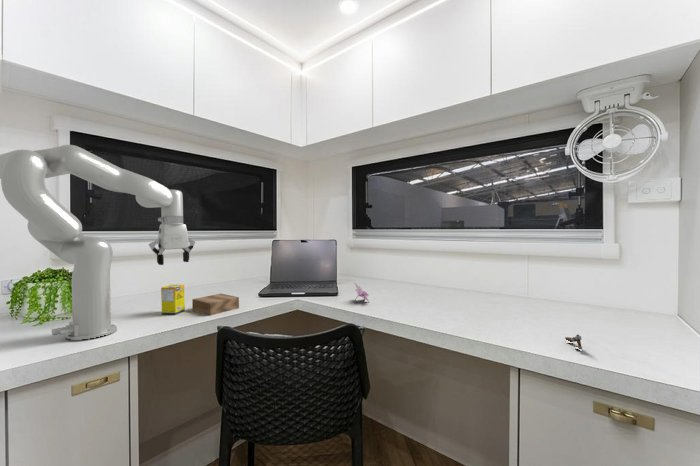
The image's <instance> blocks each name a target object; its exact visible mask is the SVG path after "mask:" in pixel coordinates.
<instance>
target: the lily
mask: <svg viewBox="0 0 700 466" xmlns="http://www.w3.org/2000/svg"><path fill="white" fill-rule="evenodd" d="M352 283H353V284H354V286H356V289H355V290H354V291H355V292H356V293H357V296H356V298H355V299H354V300H353V303H355V302H356V300H357V298H358V297H362V299H363V300H367V301H368V303H371V302H370V301H369V299H368V297H370V294H369V293H368V292H367V291H365V290H363V289H362V287H361V286H360V285H358V284H357V283H356V282H354V281H352Z"/></svg>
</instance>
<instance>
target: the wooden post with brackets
mask: <svg viewBox="0 0 700 466" xmlns="http://www.w3.org/2000/svg"><path fill="white" fill-rule="evenodd" d="M565 339H566V340H568V341H570V342H573V343H575V342H576V344H577V345H575V346H576V347H578V348H579V349H582V350H583V346H582V343H581V341H582V340H583V339H582V336H581V335H580V334H576V335H575V336H573V337H566V336H565V337H564V340H565Z"/></svg>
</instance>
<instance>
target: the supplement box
mask: <svg viewBox="0 0 700 466" xmlns="http://www.w3.org/2000/svg"><path fill="white" fill-rule="evenodd" d="M160 290H161V291H160V293H161V299H160V300H161V315H175V316H176V315H178V314H180V313H182V312H185V311H186V309H185V308H186V307H185V305H186V303H185V285H184V284H169V285H165V286H161V289H160Z"/></svg>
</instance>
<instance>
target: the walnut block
mask: <svg viewBox="0 0 700 466" xmlns="http://www.w3.org/2000/svg"><path fill="white" fill-rule="evenodd" d="M239 299H240V297H239V296H234V295H230V294H225V293H217V294H212V295H206V296H201V297H196V298H192V299H191V300H192V302H191V303H192V311H194V312H197V313H201V314H205V315H207V316H215V315H218V314H221V313H225V312H228V311H229V312H230V311H232V310H233V311H234V310H237V309H239V308H240V300H239Z"/></svg>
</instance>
